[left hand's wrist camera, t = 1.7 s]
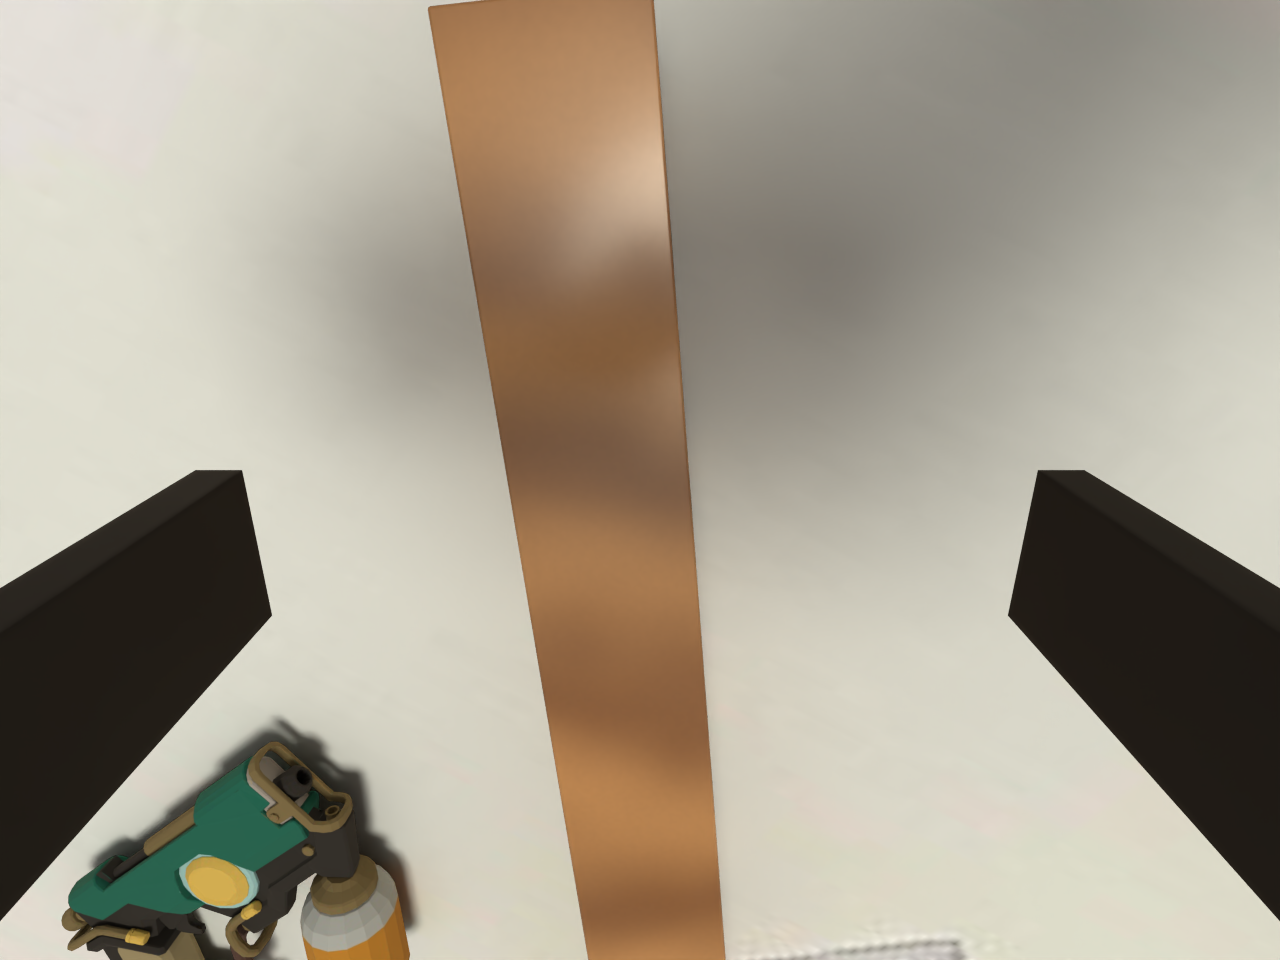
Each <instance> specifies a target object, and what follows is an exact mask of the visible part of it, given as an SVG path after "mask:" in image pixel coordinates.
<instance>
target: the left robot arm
mask: <svg viewBox="0 0 1280 960" xmlns="http://www.w3.org/2000/svg"><path fill="white" fill-rule="evenodd" d="M271 616H272V613H271V608H270V603H269V599H268V594H267V589H266V584H265V579H264V574H263V570H262V565H261V560H260V555H259V550H258V545H257V540H256V536H255V531H254V526H253V521H252V516H251V511H250V507H249V502H248V497H247V492H246V487H245V482H244V477H243V473H242V470H195V471H194V472H192V473H190V474H189V475H187V476H185V477H184V478H182V479H180V480H179V481H177V482H175V483H174V484H172V485H170V486H169V487H167V488H165V489H164V490H162V491H160V492H159V493H157V494H155V495H154V496H152V497H150V498H149V499H147V500H146V501H144V502H142V503H141V504H139V505H137V506H136V507H134V508H132V509H131V510H129V511H127V512H126V513H124V514H122V515H121V516H119V517H117V518H116V519H114V520H112V521H111V522H109V523H107V524H106V525H104V526H102V527H101V528H99V529H97V530H96V531H94V532H93V533H91V534H89V535H88V536H86V537H84V538H83V539H81V540H79V541H78V542H76V543H74V544H73V545H71V546H69V547H68V548H66V549H64V550H63V551H61V552H59V553H58V554H56V555H54V556H53V557H51V558H49V559H48V560H46V561H44V562H43V563H41V564H40V565H38V566H36V567H35V568H33V569H31V570H30V571H28V572H26V573H25V574H23V575H21V576H20V577H18V578H16V579H15V580H13V581H11V582H10V583H8V584H6V585H5V586H3V587H1V588H0V921H1V920H2V918H3V917H4V916H5V915H6V914H7V913H8V912H9V911H10V909H11V908H12V907H13V906H14V905H15V904H16V903H17V902H18V900H19V899H20V898H21V897H22V896H23V895H24V894H25V893H26V891H27V890H28V889H29V888H30V887H31V886H32V885H33V884H34V882H35V881H36V880H37V879H38V878H39V877H40V876H41V875H42V873H43V872H44V871H45V870H46V869H47V868H48V867H49V866H50V864H51V863H52V862H53V861H54V860H55V859H56V858H57V857H58V855H59V854H60V853H61V852H62V851H63V850H64V849H65V848H66V846H67V845H68V844H69V843H70V842H71V841H72V840H73V839H74V837H75V836H76V835H77V834H78V833H79V832H80V831H81V830H82V828H83V827H84V826H85V825H86V824H87V823H88V822H89V821H90V819H91V818H92V817H93V816H94V815H95V814H96V813H97V812H98V810H99V809H100V808H101V807H102V806H103V805H104V804H105V803H106V801H107V800H108V799H109V798H110V797H111V796H112V795H113V794H114V792H115V791H116V790H117V789H118V788H119V787H120V786H121V785H122V784H123V782H124V781H125V780H126V779H127V778H128V777H129V776H130V775H131V773H132V772H133V771H134V770H135V769H136V768H137V767H138V766H139V764H140V763H141V762H142V761H143V760H144V759H145V758H146V757H147V755H148V754H149V753H150V752H151V751H152V750H153V749H154V748H155V746H156V745H157V744H158V743H159V742H160V741H161V740H162V739H163V737H164V736H165V735H166V734H167V733H168V732H169V731H170V730H171V728H172V727H173V726H174V725H175V724H176V723H177V722H178V721H179V719H180V718H181V717H182V716H183V715H184V714H185V713H186V712H187V710H188V709H189V708H190V707H191V706H192V705H193V704H194V703H195V701H196V700H197V699H198V698H199V697H200V696H201V695H202V694H203V692H204V691H205V690H206V689H207V688H208V687H209V686H210V685H211V683H212V682H213V681H214V680H215V679H216V678H217V677H218V676H219V674H220V673H221V672H222V671H223V670H224V669H225V668H226V667H227V665H228V664H229V663H230V662H231V661H232V660H233V659H234V658H235V657H236V655H237V654H238V653H239V652H240V651H241V650H242V649H243V648H244V646H245V645H246V644H247V643H248V642H249V641H250V640H251V639H252V637H253V636H254V635H255V634H256V633H257V632H258V631H259V630H260V628H261V627H262V626H263V625H264V624H265V623H266V622H267V621H268V619H269V618H270V617H271ZM1008 616H1009V617H1010V618H1011V619H1012V621H1013V622H1014V623H1015V624H1016V625H1017V626H1018V627H1019V628H1020V630H1021V631H1022V632H1023V633H1024V634H1025V635H1026V636H1027V637H1028V639H1029V640H1030V641H1031V642H1032V643H1033V644H1034V645H1035V646H1036V648H1037V649H1038V650H1039V651H1040V652H1041V653H1042V654H1043V655H1044V657H1045V658H1046V659H1047V660H1048V661H1049V662H1050V663H1051V664H1052V666H1053V667H1054V668H1055V669H1056V670H1057V671H1058V672H1059V673H1060V674H1061V676H1062V677H1063V678H1064V679H1065V680H1066V681H1067V682H1068V683H1069V685H1070V686H1071V687H1072V688H1073V689H1074V690H1075V691H1076V692H1077V694H1078V695H1079V696H1080V697H1081V698H1082V699H1083V700H1084V701H1085V703H1086V704H1087V705H1088V706H1089V707H1090V708H1091V709H1092V710H1093V712H1094V713H1095V714H1096V715H1097V716H1098V717H1099V718H1100V719H1101V721H1102V722H1103V723H1104V724H1105V725H1106V726H1107V727H1108V728H1109V730H1110V731H1111V732H1112V733H1113V734H1114V735H1115V736H1116V737H1117V739H1118V740H1119V741H1120V742H1121V743H1122V744H1123V745H1124V746H1125V748H1126V749H1127V750H1128V751H1129V752H1130V753H1131V754H1132V755H1133V757H1134V758H1135V759H1136V760H1137V761H1138V762H1139V763H1140V764H1141V766H1142V767H1143V768H1144V769H1145V770H1146V771H1147V772H1148V773H1149V775H1150V776H1151V777H1152V778H1153V779H1154V780H1155V781H1156V782H1157V784H1158V785H1159V786H1160V787H1161V788H1162V789H1163V790H1164V791H1165V793H1166V794H1167V795H1168V796H1169V797H1170V798H1171V799H1172V800H1173V801H1174V803H1175V804H1176V805H1177V806H1178V807H1179V808H1180V809H1181V810H1182V812H1183V813H1184V814H1185V815H1186V816H1187V817H1188V818H1189V819H1190V821H1191V822H1192V823H1193V824H1194V825H1195V826H1196V827H1197V828H1198V830H1199V831H1200V832H1201V833H1202V834H1203V835H1204V836H1205V837H1206V839H1207V840H1208V841H1209V842H1210V843H1211V844H1212V845H1213V846H1214V848H1215V849H1216V850H1217V851H1218V852H1219V853H1220V854H1221V855H1222V857H1223V858H1224V859H1225V860H1226V861H1227V862H1228V863H1229V864H1230V866H1231V867H1232V868H1233V869H1234V870H1235V871H1236V872H1237V873H1238V875H1239V876H1240V877H1241V878H1242V879H1243V880H1244V881H1245V882H1246V884H1247V885H1248V886H1249V887H1250V888H1251V889H1252V890H1253V891H1254V893H1255V894H1256V895H1257V896H1258V897H1259V898H1260V899H1261V900H1262V902H1263V903H1264V904H1265V905H1266V906H1267V907H1268V908H1269V909H1270V911H1271V912H1272V913H1273V914H1274V915H1275V916H1276V917H1277V918H1278V920H1279V921H1280V588H1279V587H1277V586H1275V585H1274V584H1272V583H1270V582H1269V581H1267V580H1265V579H1264V578H1262V577H1260V576H1259V575H1257V574H1255V573H1254V572H1252V571H1250V570H1249V569H1247V568H1245V567H1244V566H1242V565H1240V564H1239V563H1237V562H1236V561H1234V560H1232V559H1231V558H1229V557H1227V556H1226V555H1224V554H1222V553H1221V552H1219V551H1217V550H1216V549H1214V548H1212V547H1211V546H1209V545H1207V544H1206V543H1204V542H1202V541H1201V540H1199V539H1197V538H1196V537H1194V536H1192V535H1191V534H1189V533H1187V532H1186V531H1184V530H1183V529H1181V528H1179V527H1178V526H1176V525H1174V524H1173V523H1171V522H1169V521H1168V520H1166V519H1164V518H1163V517H1161V516H1159V515H1158V514H1156V513H1154V512H1153V511H1151V510H1149V509H1148V508H1146V507H1144V506H1143V505H1141V504H1139V503H1138V502H1136V501H1134V500H1133V499H1131V498H1130V497H1128V496H1126V495H1125V494H1123V493H1121V492H1120V491H1118V490H1116V489H1115V488H1113V487H1111V486H1110V485H1108V484H1106V483H1105V482H1103V481H1101V480H1100V479H1098V478H1096V477H1095V476H1093V475H1091V474H1090V473H1088V472H1086V471H1085V470H1038V473H1037V477H1036V482H1035V487H1034V492H1033V497H1032V502H1031V507H1030V511H1029V516H1028V521H1027V526H1026V531H1025V536H1024V540H1023V545H1022V550H1021V555H1020V560H1019V565H1018V569H1017V574H1016V579H1015V584H1014V589H1013V594H1012V599H1011V603H1010V608H1009V613H1008Z"/></svg>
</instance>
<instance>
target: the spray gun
mask: <svg viewBox="0 0 1280 960" xmlns="http://www.w3.org/2000/svg"><path fill="white" fill-rule="evenodd" d="M267 751H273V752H275V753H277V754H278V755H279V756H280V757H281V758H282V759H283V760H284V761H285V762H286V763H288V764H289V765H290V766H291V767H290V768H289V769H288V770H286V771H284V770H283V769H282V768H281V767H280V766H279V765H278V764H277V763H276V762H275V761H274V760H273V759H272V758H270V757H266V756H264V755H265V754H266V753H267ZM311 787H314V788H315V789H316V790H317V791H318V792H319V793H320V794H321V795H323V796H324V797H325V798H326V799H327V800H328V801H333V802H341V803H344V806H343V808H342V809H341V810H340V807H339V806H337V805H333V806H330V807H328V808H327V809H326V810H323V811H321V810H319V794H318V793H317V792H316V791H310V789H311ZM309 791H310V792H309ZM307 792H308V793H307ZM352 808H353V804H352V799H351V797H350V795H349V794H347V793H343V792H334V791H333V790H332V789H331V788H329V787H328V786H327V785H326V784H325V783H324V782H323V781H322V780H321V779H320V778H319V777H318V776H317V775H315V774H314V773H313V772H312V771H311V770H310V769H309V768H308V767H307V766H306V765H305V764H304V763H303V762H301V761H300V760H299V759H298V758H297V757H296V756H295V755H294V754H293V753H292V752H291V751H290V750H289V749H288V748H286V747H285V746H284V745H283V744H281V743H279V742H270V743H268V744H267V745H265V746H264V747H262V748H261V749H259V750H258V751H257V753H256V754H255V755H254V756H252V757H250V758H248V759H247V760H245V761H244V762H243V763H241V764H240V765H238V766H237V767H236V768H234V769H233V770H232V771H230V772H229V773H227V774H226V775H225V776H223V777H222V778H220V779H219V780H218V781H216V782H215V783H213V784H212V785H211V786H209V787H208V788H206V789H205V790H204V791H202V792H201V793H200V794H199V796H198V798H197V800H196V803H195V805H194V806H193V807H192V808H190V809H189V810H187V811H186V812H185V813H183V814H182V815H180V816H179V817H178V818H176V819H175V820H173V821H172V822H171V823H169V824H168V825H167V826H165V827H164V828H162V829H161V830H160V831H158V832H157V833H155V834H154V835H153V836H151V837H150V838H149V839H147V840H146V842H145V843H144V848H143V849H141V850H140V851H138V852H137V853H135V854H134V855H133V856H131V857H130V858H128V857H125V856H122V855H119V856H116V855H115V856H113V857H111V858H109V859H108V860H106V861H105V862H103V863H102V864H100V865H99V866H98V867H96V868H95V869H93V870H92V871H91V872H89V873H88V874H87V875H85V876H84V877H82V878H81V879H80V880H79V881H77V882H76V884H75V885H74V887H73V888H72V890H71V892H70V894H69V898H68V903H69V906H70V908H69V909H68V910H66V911H65V913H64V914H63V916H62V926H63V927H64V928H65V929H66V930H68V931H76V930H79V929H80V928H81V929H80V930H79V931H78V932H77V933H76V935H75V936H74V937H73V938H72V939H71V940H70V942H69V944H68V950H70V951H73V950H75V949H77V948H79V947H81V946H82V945H84V944H85V943H86V945H87V950H88V951H95V952H98V951H100V950H102V949H104V951H105V953H106V954H107V956H108V957H109V959H110V960H205V959H204V957H203V954H202V952H201V950H200V948H199V946H198V943H197V941H196V939H195V937H194V935H193V934H203V932H204V931H205V929H206V926H205V924H204V923H201V922H199V921H197V920H196V919H195V918H194V916H193V913H192V912H193V911H194V910H196V909H198V908H199V907H203V908H205V909H208V910H211V911H214V912H217V913H220V914H223V915H226V916H229V917H232V918H231V919H230V921H229V922H228V924H227V926H226V938H227V940H228V942H229V944H230V949H231V952H232V954H233V957H234V960H254V959H253V957H255V956H257V955H258V954H259V953H260V952H261V951H262V949H263V948H264V947H265V945H266V944H267V943H268V941H269V940H270V938H271V936H272V934H273V932H274V930H275V927H276V925H277V921H278V919H280V918H281V917H283V916H285V915H286V914H288V912H289V911H290V909H291V908H292V906H293V904H294V902H295V900H296V893H297V885H298V884H300V883H301V882H303V881H304V880H305V879H307V878H308V877H310V876H311V875H313V874H314V873H317V875H316V876H315V878H314V879H313V882H312V885H311V888H310V892H309V893H308V895H307V897H306V900H305V903H304V906H303V909H302V915H301V929H302V937H303V941H304V945H305V950H306V954H307V959H308V960H409V957H410V952H409V947H408V942H407V937H406V932H405V927H404V922H403V917H402V912H401V907H400V902H399V897H398V893H397V890H396V886H395V882H394V881H393V879H392V878H391V876H390V875H389V873H388V872H386V871H385V870H384V869H383V868H382V867H381V866H380V865H376V864H375V862H374V861H373V860H372V859H371V858H369V857H368V856H364V855H360V854H359V847H358V839H357V831H356V823H355V816H354V811H353V810H352ZM92 928H93V929H92ZM263 928H264V930H263V931H262V933H261V935H260V937H259V938H258V940H257V941H256V942H255V944H254V945H249V944H248V943H247V940H246V936H247V933H248V932H249V931H251V932H253V933H256V932H258V931H260V930H262V929H263Z"/></svg>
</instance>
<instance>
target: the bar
mask: <svg viewBox="0 0 1280 960" xmlns="http://www.w3.org/2000/svg"><path fill="white" fill-rule="evenodd" d="M428 13H429V19H430V25H431V31H432V37H433V43H434V49H435V55H436V61H437V67H438V73H439V79H440V84H441V90H442V96H443V102H444V108H445V114H446V120H447V126H448V132H449V138H450V144H451V150H452V155H453V161H454V167H455V173H456V179H457V185H458V191H459V197H460V203H461V209H462V215H463V221H464V226H465V232H466V238H467V244H468V250H469V256H470V262H471V268H472V274H473V280H474V286H475V292H476V297H477V303H478V309H479V315H480V321H481V327H482V333H483V339H484V345H485V351H486V357H487V363H488V369H489V374H490V380H491V386H492V392H493V398H494V404H495V410H496V416H497V422H498V428H499V434H500V440H501V445H502V451H503V457H504V463H505V469H506V475H507V481H508V487H509V493H510V499H511V505H512V511H513V516H514V522H515V528H516V534H517V540H518V546H519V552H520V558H521V564H522V570H523V576H524V582H525V588H526V593H527V599H528V605H529V611H530V617H531V623H532V629H533V635H534V641H535V647H536V653H537V659H538V664H539V670H540V676H541V682H542V688H543V694H544V700H545V706H546V712H547V718H548V724H549V730H550V735H551V741H552V747H553V753H554V759H555V765H556V771H557V777H558V783H559V789H560V795H561V801H562V806H563V812H564V818H565V824H566V830H567V836H568V842H569V848H570V854H571V860H572V866H573V872H574V878H575V883H576V889H577V895H578V901H579V907H580V913H581V919H582V925H583V931H584V937H585V943H586V949H587V954H588V960H726V959H725V946H724V933H723V919H722V906H721V893H720V879H719V866H718V852H717V839H716V826H715V812H714V799H713V786H712V772H711V759H710V746H709V732H708V719H707V705H706V692H705V679H704V665H703V652H702V639H701V625H700V612H699V599H698V585H697V572H696V558H695V545H694V532H693V518H692V505H691V492H690V478H689V465H688V451H687V438H686V425H685V411H684V398H683V385H682V371H681V358H680V345H679V331H678V318H677V304H676V291H675V278H674V264H673V251H672V238H671V224H670V211H669V198H668V184H667V171H666V157H665V144H664V131H663V117H662V104H661V91H660V77H659V64H658V51H657V37H656V24H655V10H654V0H481V1H472V2H463V3H455V4H446V5H437V6H430V7H428Z"/></svg>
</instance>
